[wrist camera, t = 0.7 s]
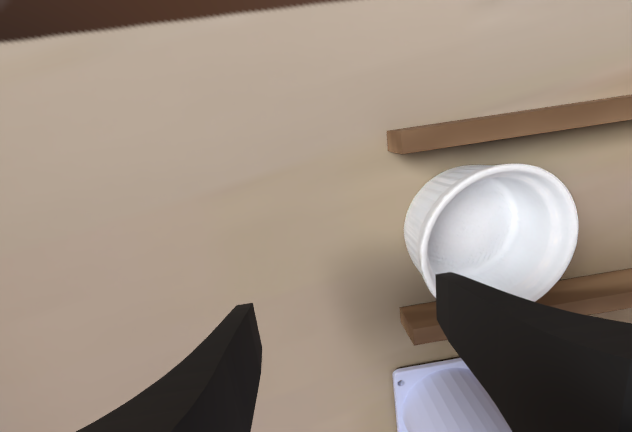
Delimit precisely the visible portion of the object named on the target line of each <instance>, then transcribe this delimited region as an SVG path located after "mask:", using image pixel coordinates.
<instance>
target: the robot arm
mask: <svg viewBox="0 0 632 432" xmlns="http://www.w3.org/2000/svg"><path fill="white" fill-rule="evenodd" d="M435 276H436V314H437V321H438V323H439V325H440V327H441V329H442V330H443V332H444V334H445V336H446V337H447V339H448V341H449V342H450V344H451V345H452V347H453V348H454V349H455V351H456V352H457V353H458V355H459V356H460V357H461V358H457V359H451V360H445V361H440V362H434V363H428V364H423V365H417V366H411V367H406V368H400V369H396V370H395V371H394V372H393V386H394V398H395V409H396V421H397V432H632V324H631V323H625V322H619V321H613V320H608V319H603V318H598V317H593V316H588V315H583V314H578V313H574V312H570V311H566V310H562V309H558V308H554V307H551V306H547V305H543V304H540V303H537V302H533V301H530V300H527V299H524V298H521V297H518V296H515V295H512V294H510V293H507V292H504V291H501V290H499V289H496V288H493V287H491V286H488V285H486V284H483V283H480V282H478V281H475V280H473V279H470V278H468V277H465V276H462V275H459V274H456V273H453V272H447V273H441V274H435ZM261 362H262V345H261V340H260V335H259V331H258V326H257V321H256V317H255V312H254V307H253V303H249V304H243V305H237V306H236V307H235V308H234V309H233V310H232V311H231V312H230V313H229V314H228V315H227V316H226V318H225V319H224V320H223V321H222V322H221V323H220V324H219V325H218V326H217V327H216V328H215V330H214V331H213V332H212V333H211V334H210V335H209V336H208V337H207V338H206V339H205V340H204V341H203V342H202V343H201V344H200V345H199V346H198V347H197V348H196V349H195V350H194V351H193V352H192V353H191V354H190V355H188V356H187V357H186V358H185V359H184V360H183V361H182V362H181V363H179V364H178V365H177V366H176V367H175V368H173V369H172V370H171V371H170V372H168V373H167V374H166V375H165V376H163V377H162V378H161V379H159V380H158V381H157V382H155V383H154V384H152V385H151V386H150V387H148V388H147V389H145V390H144V391H143V392H141V393H140V394H138V395H137V396H136V397H134V398H133V399H131V400H129V401H128V402H126V403H125V404H123V405H122V406H120V407H118V408H117V409H115V410H114V411H112V412H110V413H109V414H107V415H105V416H104V417H102V418H100V419H98V420H97V421H95V422H93V423H91V424H90V425H88V426H86V427H84V428H82V429H80V430H78V431H76V432H250V431H251V425H252V420H253V414H254V409H255V403H256V398H257V392H258V387H259V381H260V375H261ZM400 380H402V381H400ZM399 381H400V382H399Z"/></svg>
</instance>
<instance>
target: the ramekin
mask: <svg viewBox="0 0 632 432" xmlns="http://www.w3.org/2000/svg"><path fill="white" fill-rule="evenodd" d="M404 238H405V242H406V246H407V249H408V252H409V254H410V257H411V259H412V261H413V263H414V265H415V266H416V267H417V269H418V270H419V271H420V273H421V274H422V277H423V279H424V281H425V283H426V285H427V287H428V288H429V290H430V292H431V293H432V294H433V296H434V297H435V298H436V276H435V274H441V273H447V272H453V273H456V274H459V275H462V276H465V277H468V278H470V279H473V280H475V281H478V282H480V283H483V284H486V285H488V286H491V287H493V288H496V289H499V290H501V291H504V292H507V293H510V294H512V295H515V296H518V297H521V298H524V299H527V300H530V301H533V302H535V301H537V300H538V299H539V298H541V297H542V296H543V295H544V294H546V293H547V292H548V291H549V290H550V289H551V288H552V287H553V286H554V285H555V283H557V282H558V280H559V279H560V278H561V276H562V275H563V273H564V272H565V270H566V268H567V267H568V265H569V263H570V261H571V259H572V256H573V254H574V251H575V248H576V244H577V238H578V215H577V210H576V206H575V202H574V200H573V198H572V196H571V194H570V192H569V190H568V189H567V188H566V186H565V185H564V184H563V182H561V181H560V180H559V179H558V178H557V177H556V176H554V175H553V174H552V173H550V172H548V171H546V170H544V169H542V168H539V167H536V166H532V165H527V164H500V165H494V166H493V165H465V166H458V167H455V168H451V169H448V170H446V171H444V172H442V173H440V174H438V175H437V176H435V177H434V178H432V179H431V180H430V181H428V182H427V183H426V184H425V185H424V186H423V187H422V188H421V189H420V191H419V192H418V193H417V194H416V196H415V197H414V199H413V201H412V202H411V204H410V207H409V209H408V211H407V215H406V218H405V224H404Z"/></svg>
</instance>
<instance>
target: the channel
mask: <svg viewBox="0 0 632 432" xmlns="http://www.w3.org/2000/svg"><path fill="white" fill-rule="evenodd" d="M625 120H632V95H626V96H619V97H613V98H606V99H599V100H592V101H586V102H579V103H572V104H565V105H559V106H552V107H545V108H538V109H532V110H525V111H518V112H511V113H505V114H498V115H491V116H484V117H478V118H471V119H464V120H457V121H451V122H444V123H437V124H430V125H424V126H417V127H410V128H403V129H397V130H390V131H387V142H388V151H390V152H394V153H399V154H407V153H413V152H420V151H427V150H433V149H440V148H446V147H453V146H460V145H466V144H473V143H479V142H486V141H493V140H499V139H506V138H513V137H519V136H526V135H532V134H539V133H546V132H552V131H559V130H565V129H572V128H579V127H585V126H592V125H598V124H605V123H612V122H618V121H625ZM535 302H537V303H540V304H543V305H547V306H551V307H554V308H558V309H562V310H566V311H570V312H574V313H578V314H583V315H591V314H597V313H603V312H608V311H614V310H620V309H626V308H631V307H632V268H630V269H624V270H619V271H613V272H607V273H601V274H595V275H589V276H583V277H577V278H571V279H565V280H560V281H558V282H557V283H555V285H554V286H553V287H552V288H551V289H550V290H549V291H548V292H547V293H546V294H544V295H543V296H542V297H541V298H539V299H538V300H537V301H535ZM400 318H401V323H402V325H403V327H404V329H405V330H406V332H407V334H408V336H409V337H410V339H411V341H412V343H413V344H414V345H419V344H425V343H430V342H436V341H442V340H448V339H447V337H446V336H445V334H444V332H443V330H442V329H441V327H440V325H439V323H438V321H437V314H436V301H435V302H430V303H424V304H418V305H412V306H406V307H400Z"/></svg>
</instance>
